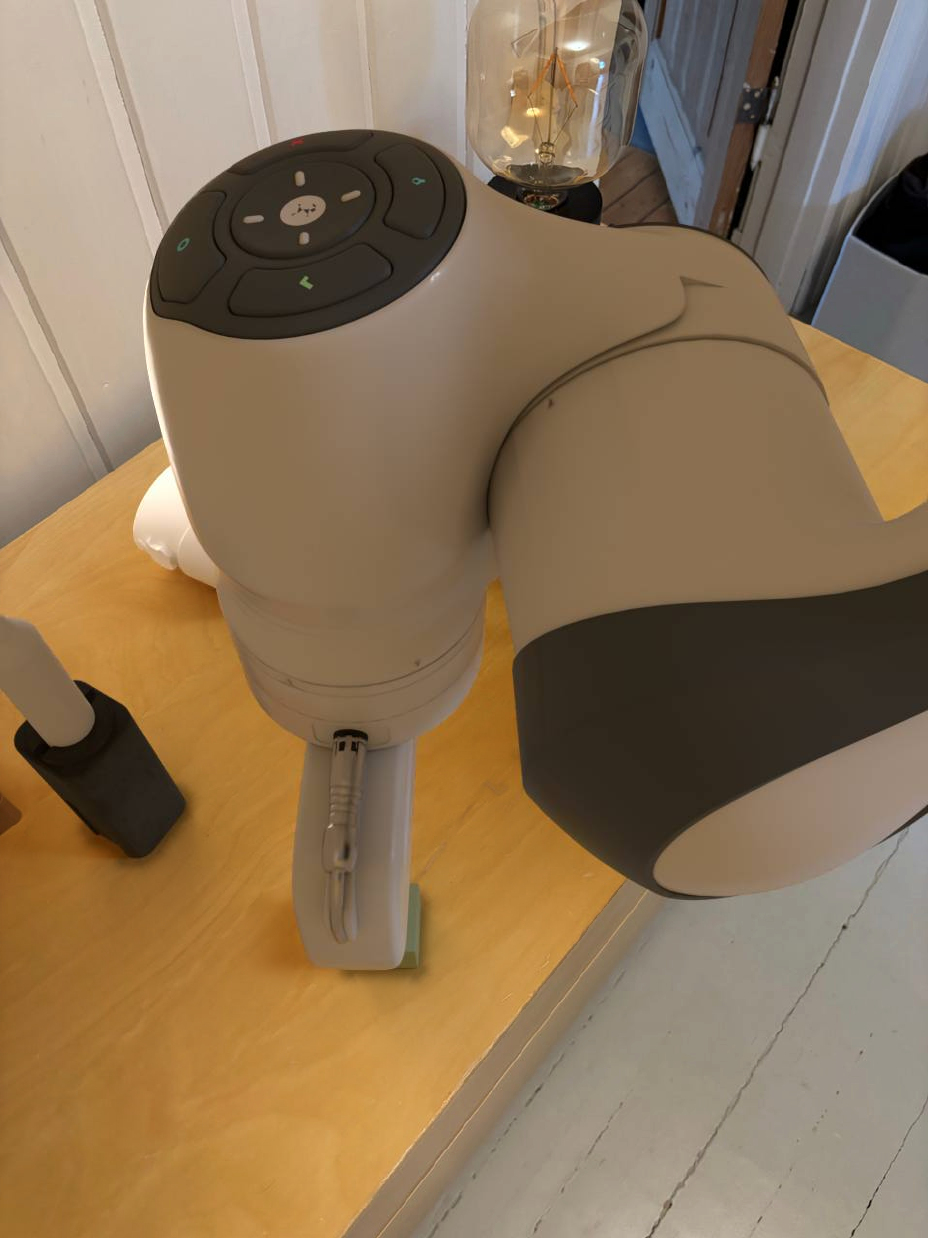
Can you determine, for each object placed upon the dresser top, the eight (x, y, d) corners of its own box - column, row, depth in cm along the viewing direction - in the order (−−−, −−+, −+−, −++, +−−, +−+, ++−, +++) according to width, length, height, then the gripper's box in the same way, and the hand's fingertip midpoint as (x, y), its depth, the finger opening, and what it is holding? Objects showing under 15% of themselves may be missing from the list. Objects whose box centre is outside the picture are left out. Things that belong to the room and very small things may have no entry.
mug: (242, 630, 70) (219, 567, 63) (149, 574, 73) (118, 508, 66) (339, 525, 75) (328, 457, 69) (250, 476, 78) (231, 406, 71)
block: (421, 902, 59) (418, 883, 56) (418, 968, 57) (415, 952, 53) (357, 901, 59) (351, 881, 56) (352, 967, 57) (345, 951, 53)
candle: (193, 800, 63) (59, 586, 42) (141, 865, 60) (-28, 672, 39) (134, 764, 64) (-24, 539, 43) (82, 826, 62) (-112, 619, 41)
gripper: (439, 919, 27) (441, 1011, 39) (457, 416, 39) (454, 604, 50) (223, 913, 27) (289, 1007, 39) (304, 411, 39) (336, 600, 50)
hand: (382, 777), depth 45 cm, fingers open, 8 cm apart
